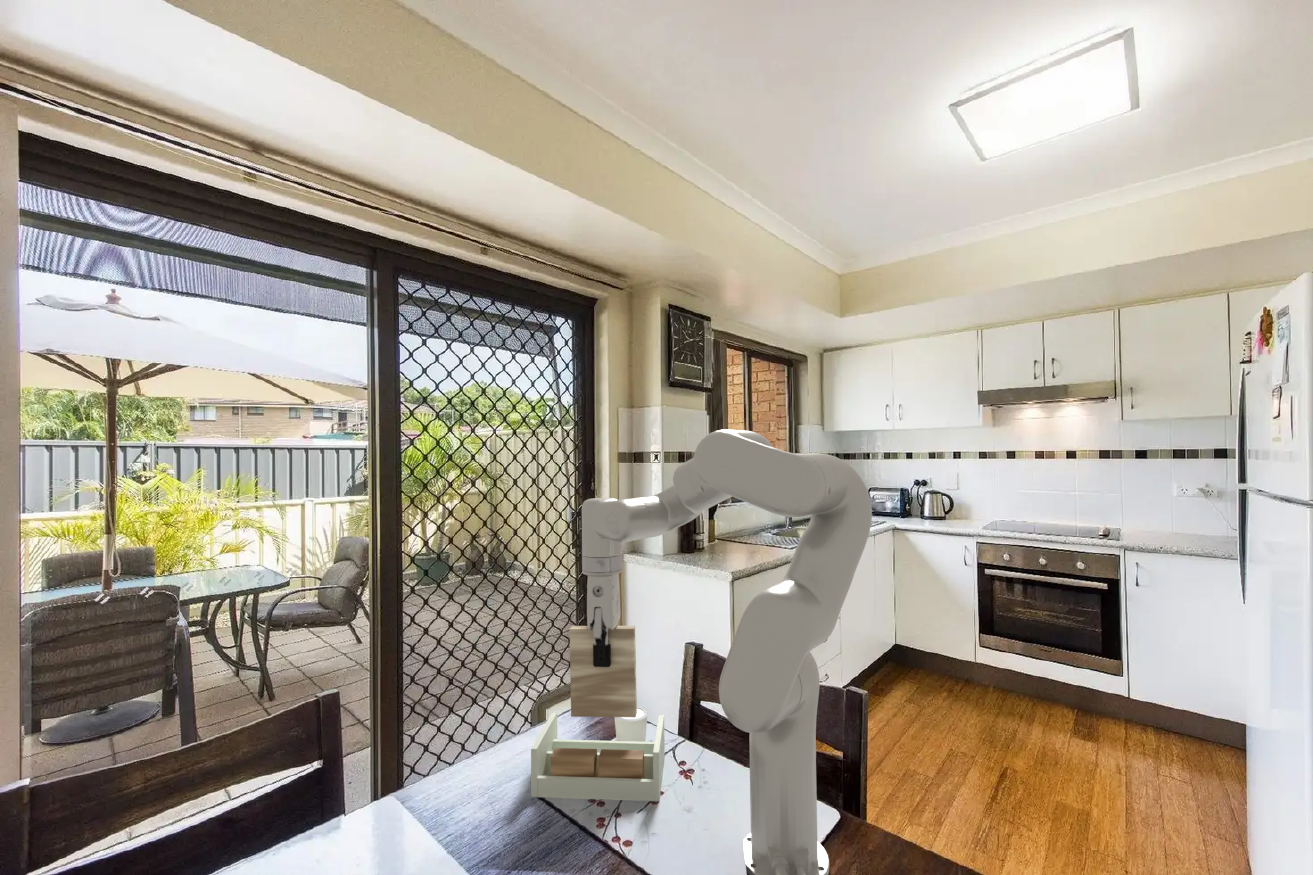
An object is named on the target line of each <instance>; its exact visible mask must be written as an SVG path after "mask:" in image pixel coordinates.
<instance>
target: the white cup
mask: <svg viewBox="0 0 1313 875" xmlns="http://www.w3.org/2000/svg"><path fill="white" fill-rule="evenodd" d="M648 714H649V713H648V711H647V710H646V709H644V708H643V707H640V706H637V714H636V717H614V727H615V735H616V736H615V738H616V741H638V742H646V739H647V738H646V737H647V728H648V727H647V726H648V716H649V715H648Z"/></svg>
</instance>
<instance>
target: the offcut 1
mask: <svg viewBox="0 0 1313 875" xmlns="http://www.w3.org/2000/svg"><path fill="white" fill-rule="evenodd" d="M551 776H567V777H597V749H579V748H555V749H554V751H553V753H552V755H551Z"/></svg>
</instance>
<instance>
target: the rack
mask: <svg viewBox="0 0 1313 875" xmlns="http://www.w3.org/2000/svg"><path fill="white" fill-rule="evenodd" d="M656 726H657V727H656V731H655V738H654V741H645V742H638V741H617V740H598V739H595V740H593V739H592V740H591V739H562V738H561V739H559V738H558V712H557V711H556V712H555V711H553V712H551V713H550V716H549V717H548V719H547V721H546V722H545V724H544V725H543V727H542V729H541V731H540V733H539V734H538V735H537V737H536V740H535V741H534V743H533V745H532V746H531V748H530V797H531V798H549V799H550V798H551V799H552V798H553V799H555V798H556V799H578V800H579V799H581V800H582V799H583V800H609V801H611V800H612V801H632V802H633V801H637V802H640V801H641V802H660V799H661V791H662V782H663V774H664V766H665V748H666V747H665V714H658V719H657V724H656ZM555 748H579V749H597V777H567V776H551V755H552V753H553V751H554V749H555ZM601 749H614V750H644V779H629V778H599V770H598V758H599V755H600V752H601Z"/></svg>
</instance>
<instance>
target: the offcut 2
mask: <svg viewBox="0 0 1313 875" xmlns="http://www.w3.org/2000/svg"><path fill="white" fill-rule="evenodd" d="M598 770H599V778H629V779H644V750H614V749H601V752H600V755H599V758H598Z"/></svg>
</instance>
